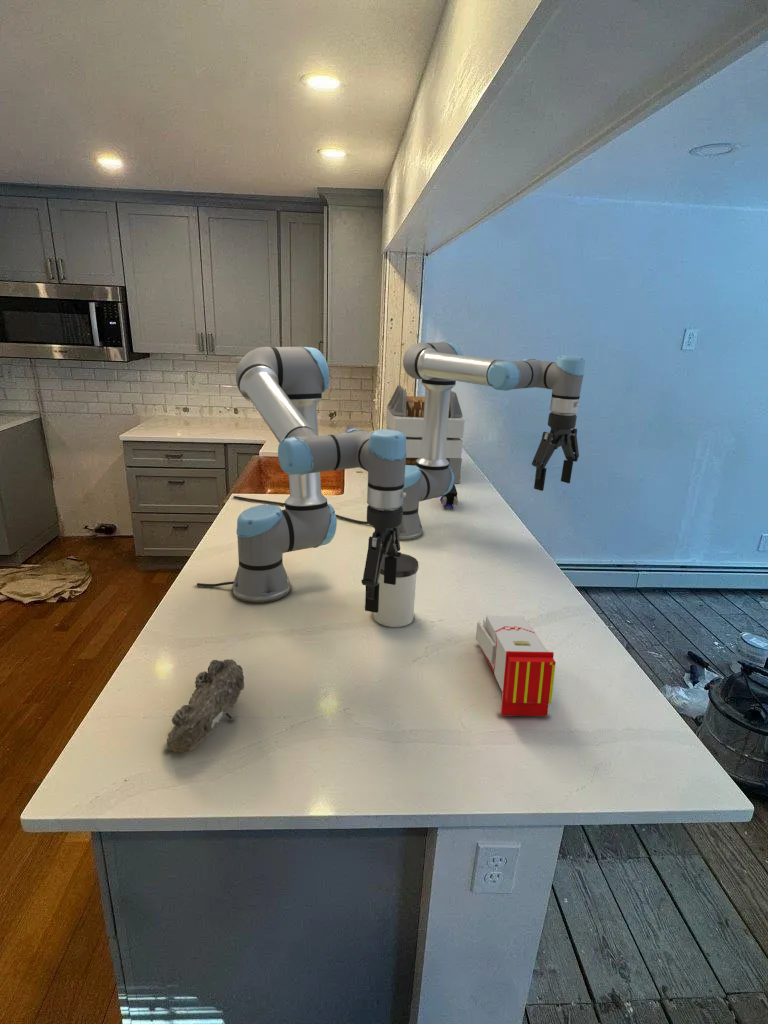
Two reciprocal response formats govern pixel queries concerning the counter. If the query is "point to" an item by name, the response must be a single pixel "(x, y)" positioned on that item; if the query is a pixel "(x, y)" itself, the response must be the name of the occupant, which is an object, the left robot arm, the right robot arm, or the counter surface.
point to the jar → (396, 601)
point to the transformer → (409, 420)
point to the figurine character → (450, 498)
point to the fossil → (206, 705)
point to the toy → (518, 664)
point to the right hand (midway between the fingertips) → (552, 485)
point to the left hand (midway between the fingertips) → (381, 596)
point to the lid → (403, 565)
